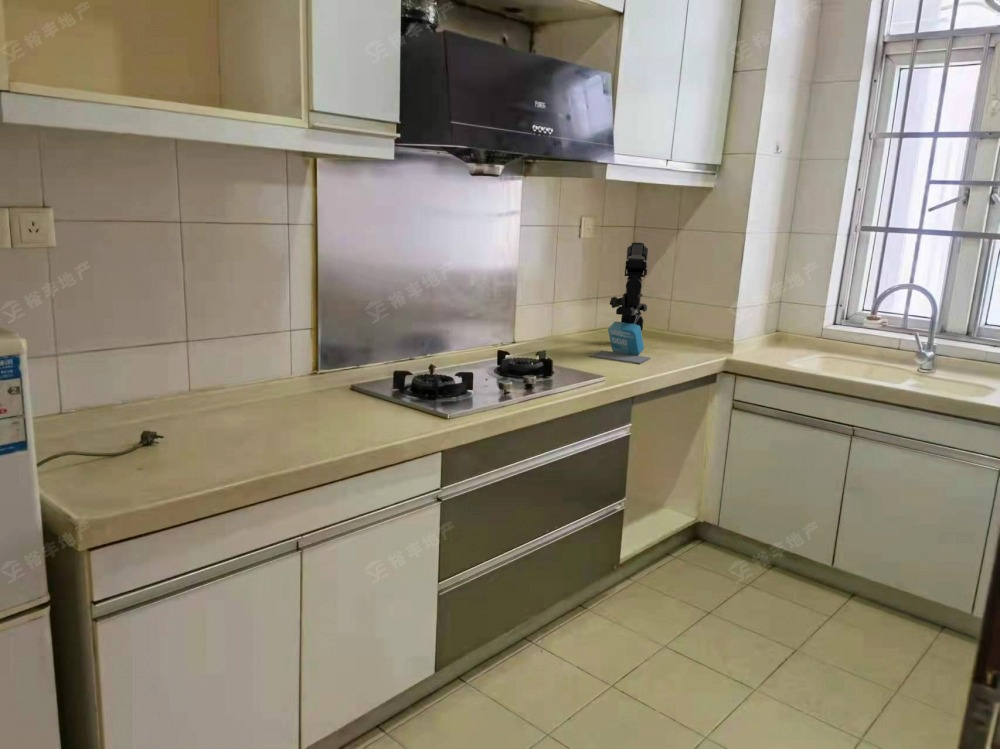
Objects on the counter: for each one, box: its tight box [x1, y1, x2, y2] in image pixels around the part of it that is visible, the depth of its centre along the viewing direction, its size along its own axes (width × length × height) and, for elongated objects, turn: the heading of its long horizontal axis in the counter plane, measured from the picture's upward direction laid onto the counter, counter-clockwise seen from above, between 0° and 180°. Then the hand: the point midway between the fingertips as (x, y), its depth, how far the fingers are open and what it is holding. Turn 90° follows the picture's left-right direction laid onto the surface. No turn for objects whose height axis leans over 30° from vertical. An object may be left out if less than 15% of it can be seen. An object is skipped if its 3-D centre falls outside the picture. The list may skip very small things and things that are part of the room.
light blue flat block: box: [607, 321, 645, 356], centre depth 290 cm, size 12×4×12 cm, turn 50°
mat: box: [589, 349, 651, 365], centre depth 285 cm, size 12×20×1 cm, turn 60°
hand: (630, 331), depth 291 cm, fingers closed
